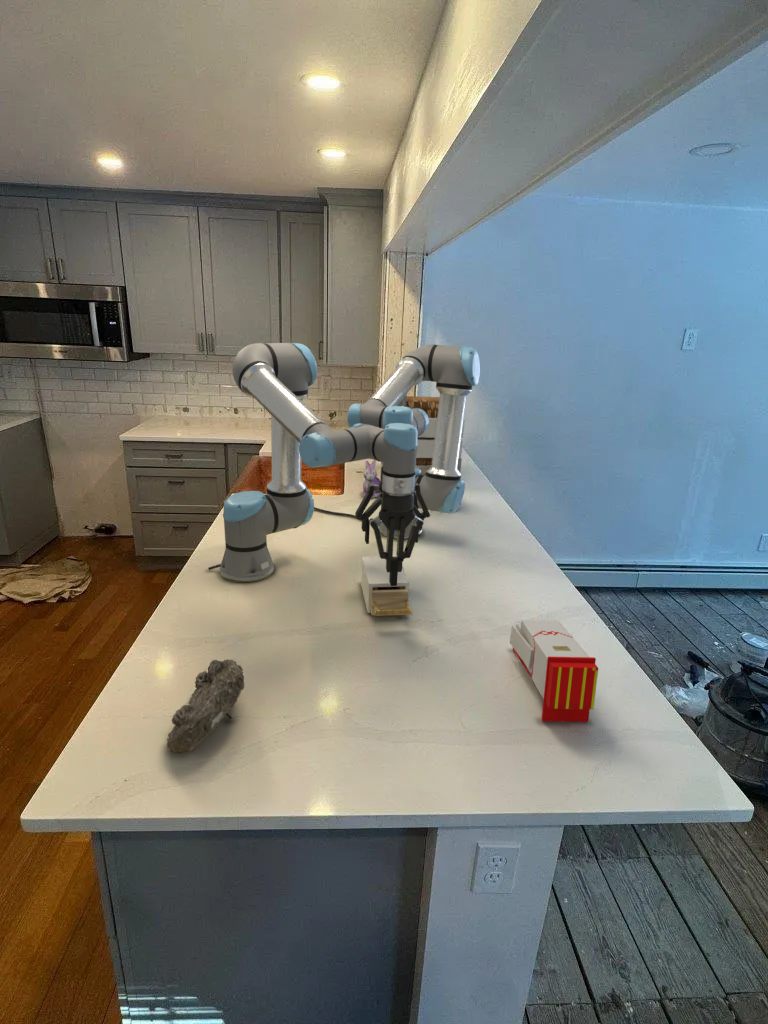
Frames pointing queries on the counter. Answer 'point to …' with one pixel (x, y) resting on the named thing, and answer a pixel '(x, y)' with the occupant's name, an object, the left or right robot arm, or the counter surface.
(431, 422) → the white slatted crate
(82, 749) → the counter surface
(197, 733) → the fossil
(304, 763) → the counter surface
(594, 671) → the toy
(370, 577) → the cabinet
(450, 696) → the counter surface
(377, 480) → the figurine
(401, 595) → the drawer
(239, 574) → the left robot arm
